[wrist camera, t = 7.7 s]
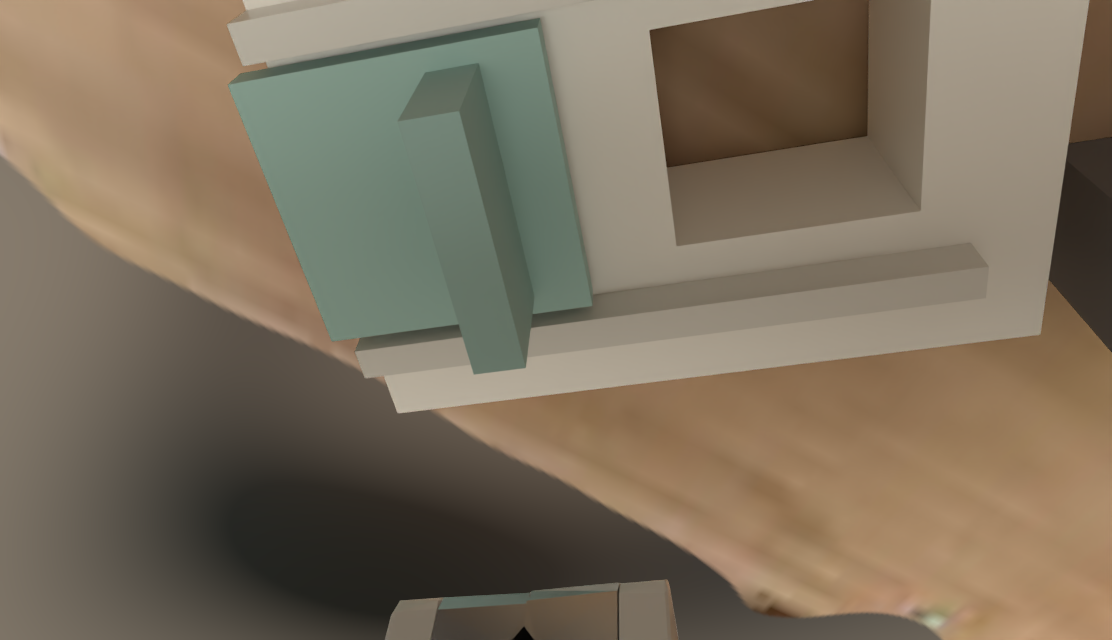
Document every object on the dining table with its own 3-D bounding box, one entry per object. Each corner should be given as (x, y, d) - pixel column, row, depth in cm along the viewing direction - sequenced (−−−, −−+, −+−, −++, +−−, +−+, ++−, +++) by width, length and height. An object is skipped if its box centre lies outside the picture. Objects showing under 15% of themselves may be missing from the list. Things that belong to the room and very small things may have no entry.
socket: (1018, -290, 19) (1171, -307, 14) (972, 245, 27) (1060, 361, 22) (280, -127, 22) (181, -92, 17) (426, 320, 29) (389, 440, 24)
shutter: (539, 17, 18) (527, 71, 15) (592, 289, 22) (591, 378, 19) (240, 73, 19) (170, 134, 16) (339, 324, 23) (298, 414, 20)
